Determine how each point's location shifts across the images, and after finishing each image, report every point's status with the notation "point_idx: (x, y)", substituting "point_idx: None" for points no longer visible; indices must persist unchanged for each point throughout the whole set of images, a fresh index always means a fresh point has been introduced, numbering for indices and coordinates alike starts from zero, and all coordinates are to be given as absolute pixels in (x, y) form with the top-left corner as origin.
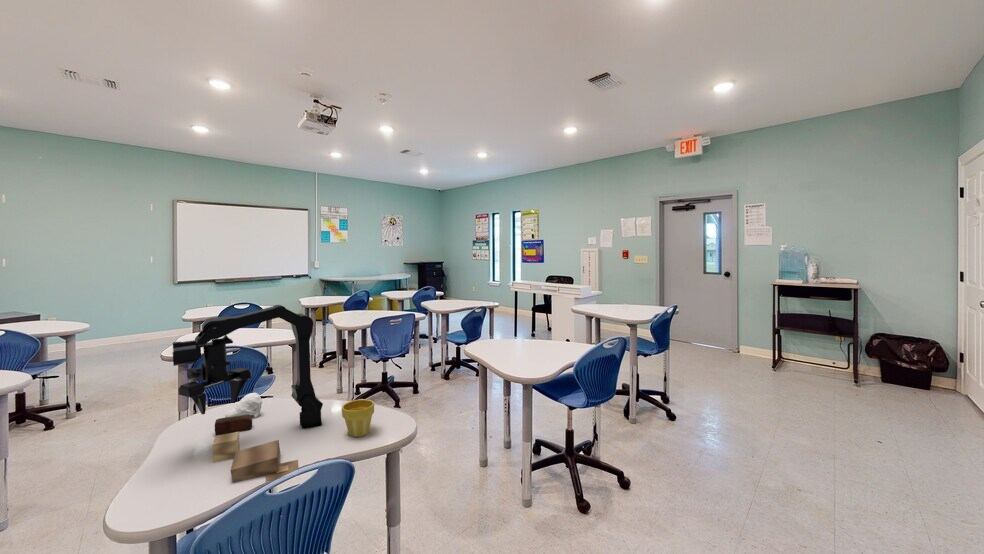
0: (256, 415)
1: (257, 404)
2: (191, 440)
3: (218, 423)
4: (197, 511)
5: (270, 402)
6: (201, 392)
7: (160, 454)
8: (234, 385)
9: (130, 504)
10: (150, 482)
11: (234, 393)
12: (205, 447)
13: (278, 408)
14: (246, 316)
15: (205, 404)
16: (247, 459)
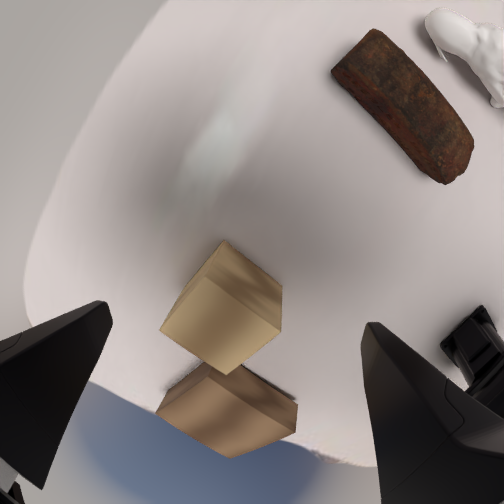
0: (498, 107)
1: None
2: (255, 24)
3: (353, 75)
4: (105, 387)
5: None
6: (12, 490)
7: (137, 49)
8: (415, 498)
9: (35, 273)
10: (62, 221)
11: (383, 425)
12: (240, 139)
13: None
14: None
15: (75, 404)
16: (196, 421)
